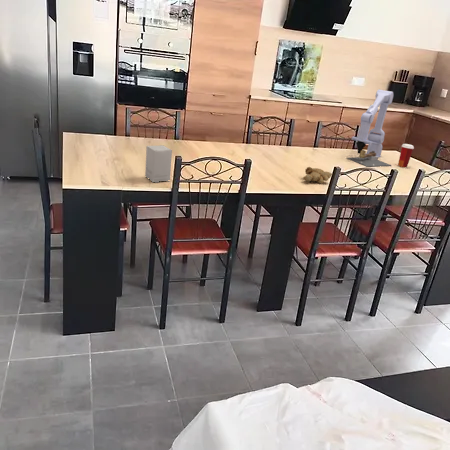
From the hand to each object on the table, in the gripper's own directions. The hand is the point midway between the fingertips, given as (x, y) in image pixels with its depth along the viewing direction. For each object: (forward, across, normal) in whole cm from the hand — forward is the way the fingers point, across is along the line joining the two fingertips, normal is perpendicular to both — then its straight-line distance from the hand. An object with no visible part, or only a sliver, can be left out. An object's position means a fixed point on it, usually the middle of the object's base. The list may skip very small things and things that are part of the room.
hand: (358, 153), depth 288 cm
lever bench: (+5, +5, +6) cm, 9 cm away
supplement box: (+5, -4, -144) cm, 145 cm away
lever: (+2, +2, +7) cm, 8 cm away
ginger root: (+5, +22, -65) cm, 68 cm away
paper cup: (+5, +19, +23) cm, 30 cm away
